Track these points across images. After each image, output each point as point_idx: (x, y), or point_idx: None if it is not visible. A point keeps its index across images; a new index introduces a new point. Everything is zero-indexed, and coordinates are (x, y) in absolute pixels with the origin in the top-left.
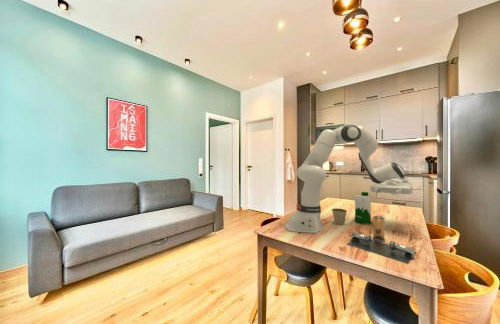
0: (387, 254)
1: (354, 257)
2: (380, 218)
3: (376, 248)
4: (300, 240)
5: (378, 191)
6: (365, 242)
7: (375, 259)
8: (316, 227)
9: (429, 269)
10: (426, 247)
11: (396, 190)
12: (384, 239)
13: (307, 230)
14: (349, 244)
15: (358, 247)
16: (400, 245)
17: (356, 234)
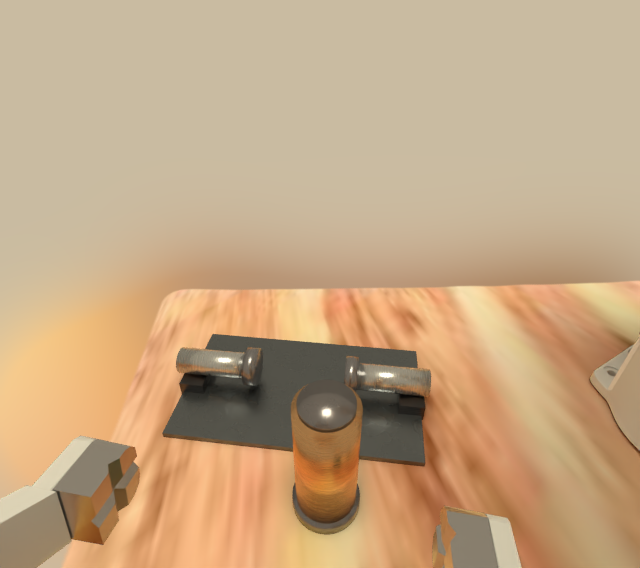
0: (270, 348)
1: (353, 294)
2: (311, 383)
3: (311, 371)
4: (544, 296)
5: (444, 559)
6: (365, 401)
7: (300, 312)
8: (616, 376)
9: (160, 338)
10: (72, 564)
11: (68, 492)
12: (294, 489)
13: (622, 358)
14: (406, 352)
15: (369, 348)
16: (223, 352)
17: (404, 367)
